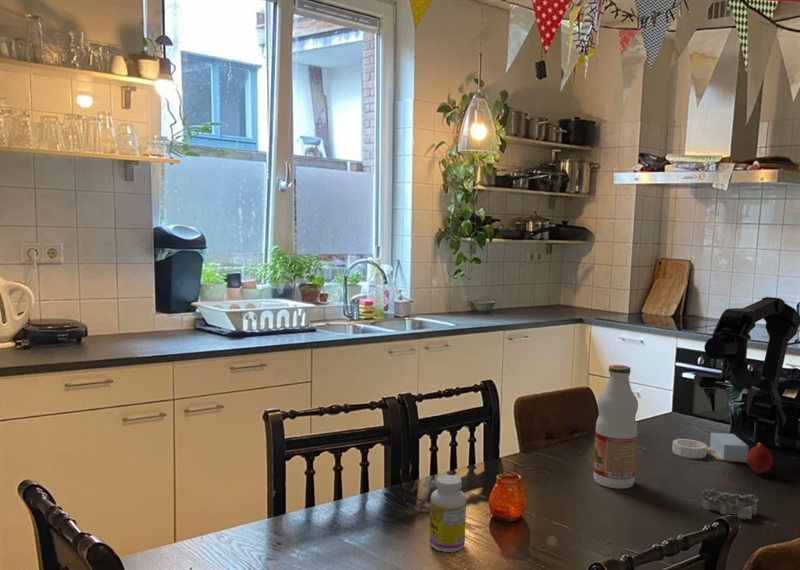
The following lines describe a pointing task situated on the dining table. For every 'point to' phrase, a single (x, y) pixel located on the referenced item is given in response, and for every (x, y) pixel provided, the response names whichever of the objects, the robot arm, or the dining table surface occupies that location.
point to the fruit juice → (616, 432)
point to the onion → (759, 459)
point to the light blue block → (729, 446)
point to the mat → (719, 456)
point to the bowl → (689, 448)
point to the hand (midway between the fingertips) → (730, 413)
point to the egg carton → (730, 503)
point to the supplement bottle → (447, 515)
